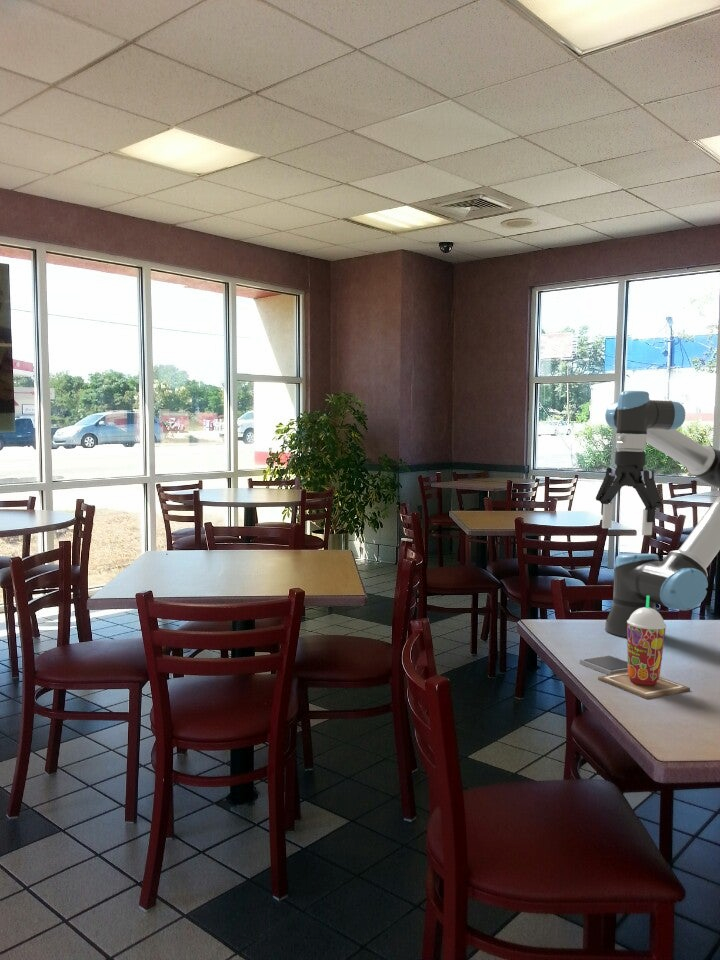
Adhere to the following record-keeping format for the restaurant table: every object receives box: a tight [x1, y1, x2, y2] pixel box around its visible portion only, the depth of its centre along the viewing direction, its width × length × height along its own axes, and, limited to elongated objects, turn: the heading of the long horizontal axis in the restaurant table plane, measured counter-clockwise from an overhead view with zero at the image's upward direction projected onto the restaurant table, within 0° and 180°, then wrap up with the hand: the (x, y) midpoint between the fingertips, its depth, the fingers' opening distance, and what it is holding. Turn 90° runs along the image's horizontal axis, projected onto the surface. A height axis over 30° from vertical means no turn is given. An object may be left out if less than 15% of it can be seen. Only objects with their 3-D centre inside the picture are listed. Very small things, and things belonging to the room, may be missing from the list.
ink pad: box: [579, 654, 628, 675], centre depth 189 cm, size 10×10×1 cm
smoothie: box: [626, 595, 667, 686], centre depth 175 cm, size 8×8×20 cm
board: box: [597, 672, 691, 700], centre depth 176 cm, size 14×14×1 cm
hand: (626, 531), depth 202 cm, fingers open, 13 cm apart
